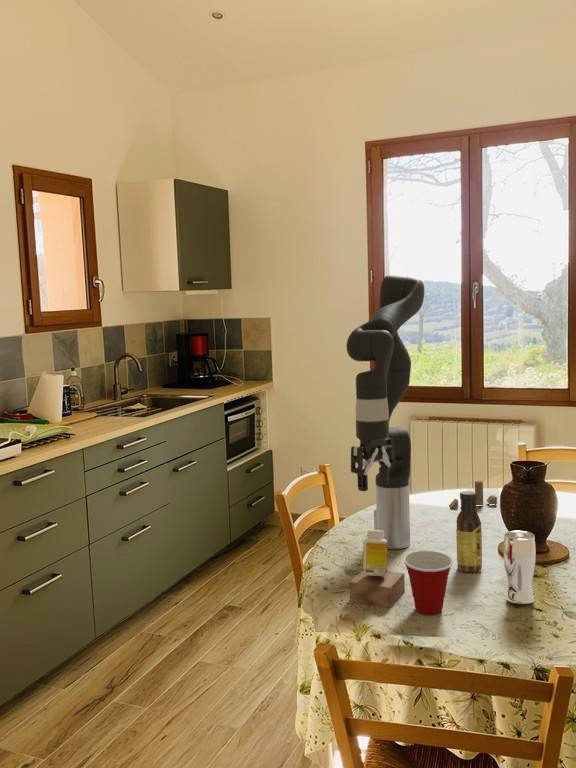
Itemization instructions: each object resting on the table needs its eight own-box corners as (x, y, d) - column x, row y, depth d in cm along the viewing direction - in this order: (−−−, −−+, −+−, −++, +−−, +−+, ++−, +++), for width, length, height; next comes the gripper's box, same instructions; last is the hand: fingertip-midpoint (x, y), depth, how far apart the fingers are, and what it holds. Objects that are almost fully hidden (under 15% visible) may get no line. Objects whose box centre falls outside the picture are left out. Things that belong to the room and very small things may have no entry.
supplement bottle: (390, 576, 173) (391, 531, 175) (369, 576, 171) (370, 530, 173) (379, 574, 178) (380, 530, 180) (358, 573, 177) (359, 529, 178)
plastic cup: (411, 622, 161) (410, 568, 160) (399, 603, 171) (398, 551, 170) (460, 618, 162) (459, 564, 161) (445, 599, 172) (444, 548, 171)
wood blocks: (494, 510, 245) (493, 479, 244) (497, 513, 242) (496, 481, 241) (419, 515, 242) (418, 484, 242) (421, 517, 240) (420, 486, 239)
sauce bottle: (482, 574, 188) (481, 496, 186) (457, 573, 189) (455, 496, 187) (481, 565, 194) (480, 489, 192) (456, 564, 195) (455, 489, 193)
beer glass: (531, 607, 166) (531, 541, 165) (500, 601, 170) (499, 537, 168) (539, 596, 172) (538, 532, 171) (508, 591, 176) (508, 528, 174)
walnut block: (349, 603, 174) (349, 582, 173) (365, 588, 182) (364, 568, 182) (391, 609, 169) (390, 587, 169) (404, 593, 178) (404, 573, 178)
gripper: (367, 423, 164) (369, 495, 166) (402, 414, 175) (404, 482, 176) (340, 420, 169) (342, 491, 171) (376, 412, 180) (377, 478, 181)
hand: (373, 486), depth 174 cm, fingers open, 8 cm apart
